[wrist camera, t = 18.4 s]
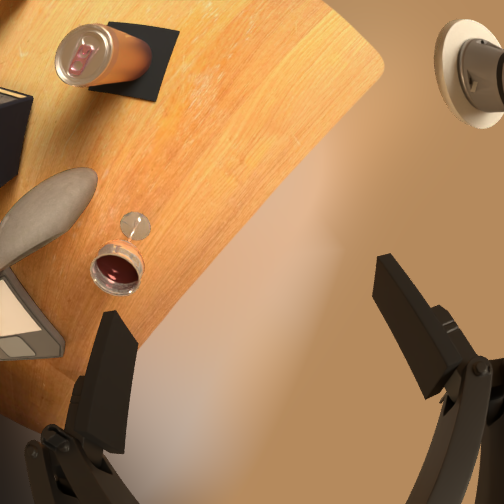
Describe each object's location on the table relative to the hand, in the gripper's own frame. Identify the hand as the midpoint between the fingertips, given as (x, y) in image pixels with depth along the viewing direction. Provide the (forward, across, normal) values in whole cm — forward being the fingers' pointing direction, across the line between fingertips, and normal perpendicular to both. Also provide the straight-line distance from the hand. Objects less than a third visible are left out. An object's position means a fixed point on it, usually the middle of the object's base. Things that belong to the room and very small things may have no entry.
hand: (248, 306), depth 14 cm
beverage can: (+29, -9, +16) cm, 34 cm away
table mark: (+29, -9, +16) cm, 34 cm away
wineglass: (+29, -16, -8) cm, 34 cm away
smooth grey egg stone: (+29, -25, +2) cm, 38 cm away
